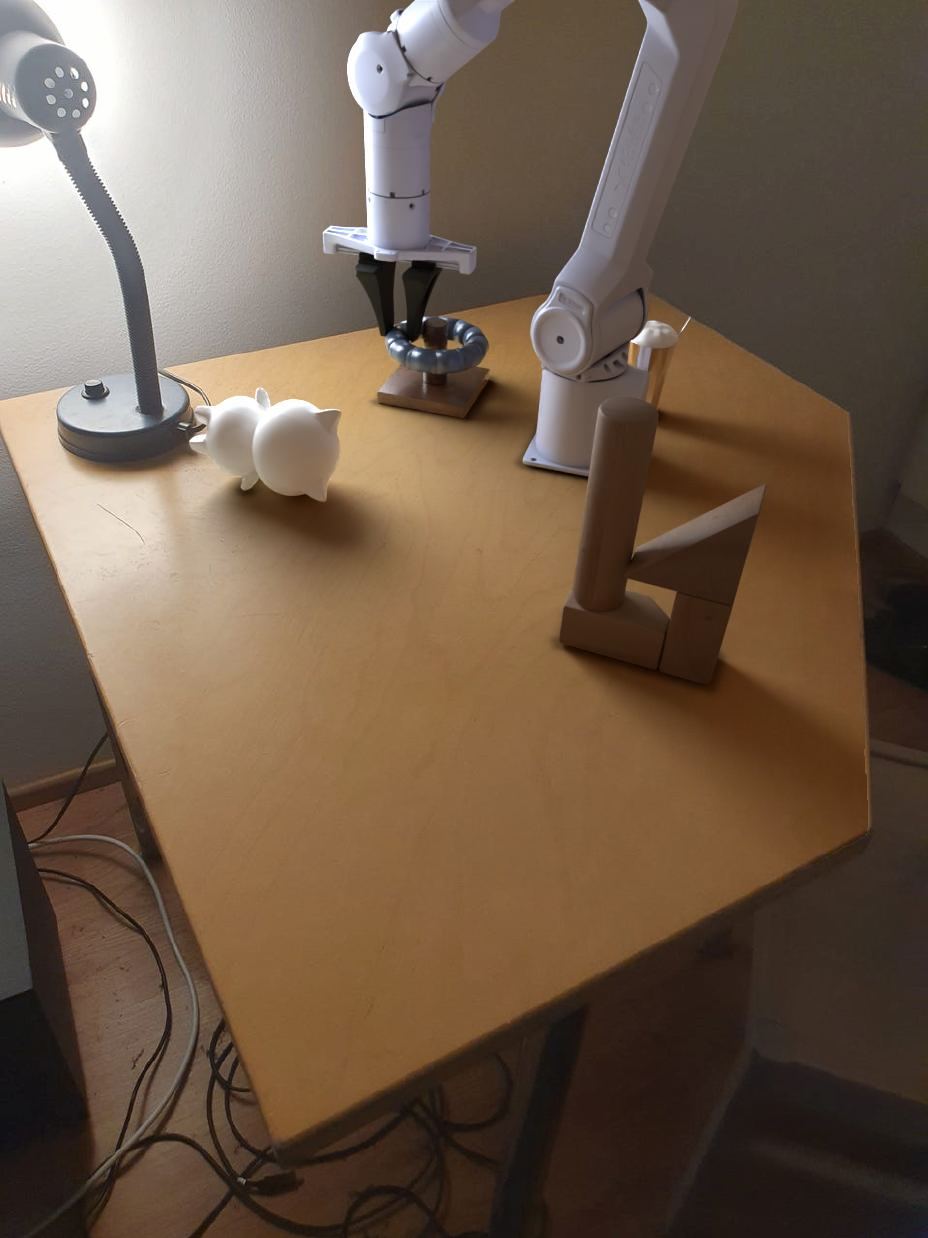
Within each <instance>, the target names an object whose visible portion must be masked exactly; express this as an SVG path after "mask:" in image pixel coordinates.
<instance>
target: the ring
mask: <svg viewBox="0 0 928 1238" xmlns="http://www.w3.org/2000/svg"><path fill="white" fill-rule="evenodd" d="M429 318H441V319H444V320H446V321H447V322H448V342H455V343H457V344H459V345H461V346H459V347H456V348H450V349H449V348H448V349H447V350H432V349H426V348H423V347H419V346H416V345H415V344H413V343H416V342H418V341H422V340H423V324H424V321H425V320H426V319H429ZM406 322H407V319H405V320H403V321H400V322H398V323H396V324H394V327H393V329H392V330H391V331H390V332H389V333H388V334H387V336H386V337H385V338H384V345H385V348H386V350H387V353H388V355H389V358H390V359H391V360H392V361H393V362H395V363H397V364H399V366H400V365H402V366H404V367H406V368H408V369H410V370H413V371H419V372H425V373H430V374H447V373H459V372H462V371H465V370H467V369H470V368H473V367H475V366H476V367H478V366H479V365H480V364H481V363H482V362H483V360H484V359H485V357H486V356H487V355H488V353H489V349H490V343H489V340H488V339H487V337H486V335H485V334H484V332H483V330H482V329H481V328H480V327H478V326H476V325H475V324H472V323H470V322H468V321H466V320H463V319H460V318H454V317H448V316H442V315H433V316H432V315H431V316H424V317H423V322H422V327H421V334H420V335H419V336H418V338H417V339H416V340H415V341H408V340H407V334H406Z"/></svg>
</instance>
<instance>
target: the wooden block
mask: <svg viewBox="0 0 928 1238" xmlns="http://www.w3.org/2000/svg"><path fill="white" fill-rule="evenodd" d="M659 417H660V415H659V411H658V409H656V408H655V407H654V406H653V405H652V404H651V403H649V402H647V401H644V400H641V399H638V398H633V397H615V398H610V399H608V400H605V401H604V402H603V403H602V404H601V405H600V407H599V410H598V415H597V422H596V429H595V436H594V443H593V450H592V457H591V464H590V471H589V477H587V478H588V479H587V486H586V492H585V499H584V505H583V511H582V512H583V513H582V518H581V519H582V520H581V527H580V534H579V541H578V548H577V555H576V561H575V570H574V576H573V582H572V587H571V589H570V592H569V593H568V594H567V595H568V596H567V597H566V599H565V601H564V604H563V605H562V612H561V618H560V619H561V620H560V627H559V635H558V641H559V643H560V644H562V645H566V646H568V647H573V648H577V649H580V650H582V651H587V652H590V653H592V654H593V653H594V654H597V655H600V656H604V657H607V658H610V659H611V658H612V659H614V660H619V661H621V662H625V663H629V664H632V665H635V666H640V667H642V668H646V669H650V670H657V669H659V672H661V673H662V674H666V675H669V676H672V677H677V678H681V679H684V680H686V681H690V682H694V683H698V684H701V685H709V683H710V682H711V681H712V678H713V676H714V675H713V674H714V672H715V669H716V665H717V661H718V658H719V655H720V652H721V647H722V645H723V641H724V637H725V634H726V631H727V627H728V625H729V621H730V617H731V614H732V611H733V607H734V604H735V600H736V596H737V593H738V588H739V585H740V582H741V578H742V574H743V571H744V568H745V565H746V561H747V558H748V554H749V552H750V549H751V548H750V547H751V545H752V541H753V538H754V534H755V531H756V528H757V525H758V522H759V521H758V520H759V518H760V514H761V510H762V506H763V503H764V499H765V494H766V491H767V487H768V486H767V484H762V485H760V486H758V487H755V488H754V489H752V490H750V491H748V492H745V493H744V494H741V495H739V496H737V497H736V498H733V499H731V500H730V501H727V502H725V503H723V504H721V505H719V506H718V507H715V508H713V509H712V510H709V511H708V512H707V511H706V513H703V514H702V515H699V516H697V517H695V518H693V519H691V520H689V521H686V522H685V523H683V524H681V525H679V526H677V527H675V528H673V529H671V530H668V531H667V532H665V533H663V534H661V535H658V536H657V537H655V538H653V539H651V540H649V541H646V542H645V543H643V544H641V545H638V546H637V547H636V548H635V547H634V546H635V543H636V538H637V532H638V527H639V522H640V516H641V511H642V507H643V501H644V496H645V491H646V486H647V482H648V481H647V480H648V475H649V470H650V465H651V460H652V455H653V449H654V444H655V439H656V434H657V428H658V423H659ZM634 548H635V550H634ZM628 580H631V581H635V582H639V583H643V584H645V585H651V586H654V587H658V588H662V589H665V590H669V591H674V592H675V597H674V599H673V600H674V601H673V605H672V609H671V613H670V617H669V615H668V614H667V613H666V612H665V611H664V610H663V609H662V608H661V606H659V604H657V602H656V601H655V600H654V599H653V598H652V597H651V596H649V595H645V594H641V593H638V592H635V591H630V590H626V589H627V584H628Z"/></svg>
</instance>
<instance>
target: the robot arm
mask: <svg viewBox="0 0 928 1238" xmlns="http://www.w3.org/2000/svg"><path fill="white" fill-rule="evenodd" d="M515 1H516V0H413V1H412V2H411V3H410V5H409V6H407V7H403V8H397V9H396V10H395V11H393V13H392V14H391V16H390V20H391V23H390V24H389V25H388V27H387V30H386V31H384V32H381V31H376V30H375V31H365V32H363V33H361V34H359V36H358V38H357V40H356V42H355V43H354V45H352V47H351V50H350V52H349V55H348V59H347V69H346V70H347V80H348V85H349V88H350V91H351V94H352V96H353V98H354V99H355V101H356V103H357V104H358V105H359V106H360V108H361V109H362V110H363V127H364V129H363V130H364V155H365V156H364V159H365V179H366V180H365V185H366V186H365V187H366V188H365V189H366V213H367V217H366V218H367V227H346V226H345V227H344V226H334V225H330V226H329V227H327V228H326V229H325V230H324V231H322V242H323V253H324V254H329V255H335V254H337V253H341V254H347V255H353V256H358V261H357V264H356V265H355V266H354V275H355V277H356V278H357V280H358V282H359V283H360V285H361V286H362V288H363V290H364V292H365V294H366V296H367V298H368V300H369V303H370V305H371V308H372V311H373V313H374V317H375V321H376V324H377V327H378V331H379V336H380V337H385V338H386V336H387V334H388V333H389V332H390V331H391V330H392V329H393V327H394V326H395V300H394V298H395V297H394V291H395V278H396V277H395V275H396V268H397V267H396V266H397V262H401V263H406V264H407V263H408V264H411V266H410V267H408V268H407V269H406V270H405V271H404V272H403V273H402V274H401V280H402V284H403V289H404V297H405V304H406V305H405V306H406V320H407V322H406V334H407V340H408V341H415V340H416V339H417V338H418V336H419V335H420V334H421V327H422V322H423V317H425V313H426V309H427V306H428V303H429V300H430V297H431V295H432V292H433V290H434V288H435V285H436V283H437V281H438V279H439V277H440V276H441V273H442V272H443V269H446V270H447V269H448V270H454V271H458V272H459V274H462V275H469V276H470V275H471V274H472V273H473V272H474V271H475V269H476V268H477V256H478V255H477V253H478V252H477V250H478V248H477V246H473V245H469V244H468V245H467V244H464V243H459V242H456V241H453V240H450V239H447V238H443V237H439V236H435V235H434V234H433V235H432V234H431V170H432V169H431V164H432V163H431V162H432V157H431V156H432V152H431V151H432V149H431V148H432V126H433V123H435V122H436V106H437V103H438V101H439V100H440V98H441V97H442V96H443V93H444V91H445V88H446V84H447V80H448V79H450V78H451V77H452V76H453V75H455V74H456V73H457V72H458V71H459V70H460V69H461V68H463V67H464V66H465V65H467V63H469V62H470V61H471V60H472V59H474V58H475V57H476V56H477V55H478V54H480V53H481V52H482V51H483V50H484V49H486V48H487V47H488V46H489V45H490V44H492V43H493V42H494V41H495V40H496V38H497V37H498V35H499V32H500V29H501V15H502V11H503V10H504V9H506V8H507V7H508V6H509V5H511V4H512V3H514V2H515ZM637 1H638V3H639V6H640V7H641V10H642V11H643V14H644V16H645V19H646V22H647V24H646V29H645V32H644V36H643V38H642V42H641V45H640V48H639V51H638V56H637V59H636V61H635V64H634V68H633V71H632V75H631V78H630V79H629V84H628V87H627V91H626V93H625V97H624V101H623V103H622V107H621V109H620V113H619V116H618V119H617V123H616V127H615V128H614V133H613V136H612V138H611V143H610V146H609V149H608V153H607V155H606V158H605V161H604V165H603V168H602V171H601V174H600V178H599V181H598V184H597V187H596V191H595V194H594V197H593V200H592V203H591V206H590V209H589V213H588V216H587V220H586V223H585V226H584V229H583V233H582V235H581V239H580V242H579V246H578V248H577V249H576V251H575V252H574V254H573V255H572V256H571V257H570V259H569V260H568V262H567V263H566V264H565V265H564V266H563V268H562V269H561V271H560V272H559V274H558V275H557V276H556V278H555V280H554V283H553V286H552V289H551V292H550V294H549V296H548V298H547V299H546V300H545V301H544V302H543V303H542V304H541V305H539V307H538V308H537V310H536V311H535V312H534V314H533V316H532V318H531V319H532V320H531V324H530V342H531V344H532V348H533V350H534V352H535V355H536V356H537V359H538V360H539V361H540V362H541V367H540V368H541V369H542V373H541V384H540V393H539V402H538V403H539V404H538V412H537V413H538V415H537V423H536V424H537V425H536V432H535V434H534V436H533V438H532V439H531V441H530V443H529V445H528V447H527V450H526V451H525V453H524V455H523V457H522V464H524V465H526V466H532V467H536V468H542V469H547V470H553V471H556V472H562V473H568V474H573V475H578V476H584V477H587V478H589V471H590V464H591V457H592V450H593V443H594V436H595V429H596V422H597V415H598V410H599V407H600V405H601V404H602V403H603V402H604V401H605V400H608V399H610V398H615V397H633V398H638V399H641V400H644V401H646V398H647V393H648V387H649V380H650V372H648V371H646V370H642V369H639V368H636V367H634V366H632V365H630V364H629V363H628V353H629V347H630V342H629V341H631V340H633V339H635V338H636V337H637V336H638V335H639V334H640V333H641V332H642V330H643V329H644V327H645V325H646V322H647V321H648V318H649V311H650V309H649V290H650V289H649V288H650V285H651V282H652V280H653V277H654V271H653V270H652V268H651V267H650V265H649V264H648V262H647V257H648V254H649V252H650V249H651V246H652V244H653V241H654V239H655V236H656V233H657V230H658V227H659V225H660V222H661V220H662V216H663V214H664V211H665V208H666V206H667V202H668V201H669V198H670V195H671V193H672V189H673V187H674V184H675V181H676V178H677V176H678V174H679V171H680V168H681V165H682V162H683V160H684V157H685V155H686V152H687V149H688V146H689V144H690V141H691V139H692V135H693V132H694V130H695V127H696V124H697V122H698V120H699V117H700V114H701V111H702V108H703V106H704V103H705V101H706V97H707V95H708V93H709V90H710V86H711V84H712V82H713V78H714V76H715V74H716V70H717V68H718V65H719V62H720V60H721V57H722V54H723V52H724V48H725V46H726V43H727V41H728V37H729V35H730V33H731V30H732V27H733V25H734V22H735V20H736V17H737V11H738V7H739V2H740V0H637Z"/></svg>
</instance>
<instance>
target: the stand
mask: <svg viewBox="0 0 928 1238" xmlns="http://www.w3.org/2000/svg"><path fill="white" fill-rule="evenodd" d="M422 342H423V343H422V344H423V345H422V348H426V349H432V350H447V349H449V340H448V322H447V321H446V320H444V319H441V318H429V319H426V320H425V321H424V324H423V341H422ZM490 373H491V369H490V368H487V367H481V366H475V367H473V368H470V369H467V370H465V371H462V372H459V373H447V374H430V373H425V372H419V371H413V370H410V369H408V368H406V367H404V366H402V365H400V364H399V366H397V368H396V369H395V370H394V371H393V372H392V374H391V375H390V376H389V377H388V379H386V381H384V383H383V384H382V385H381V387H380V388H379V389H378V390H377V392H376V393H377V394H376V395H377V403H379V404H383V405H389V406H393V407H394V406H395V407H400V408H405V409H411V410H417V411H421V412H427V413H431V414H432V413H433V414H438V415H443V416H448V417H455V418H459V419H464V418H465V417H466V416H467V414H468V412H469V411H470V409H471V408H472V407H473V405H474V403H475V402H476V400H477V399H478V397H479V396H480V394H481V393H482V391H483V390H484V388H485V387H486V385H487V384H488V382H489V381H490Z"/></svg>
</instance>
